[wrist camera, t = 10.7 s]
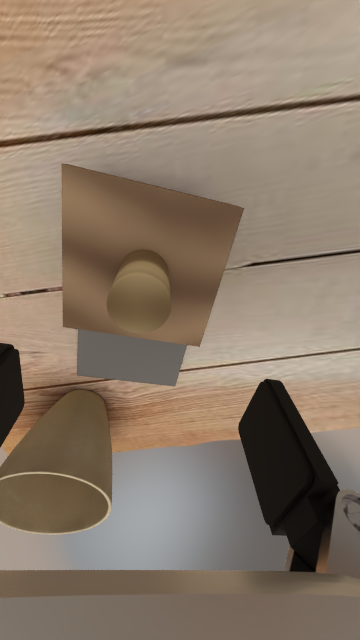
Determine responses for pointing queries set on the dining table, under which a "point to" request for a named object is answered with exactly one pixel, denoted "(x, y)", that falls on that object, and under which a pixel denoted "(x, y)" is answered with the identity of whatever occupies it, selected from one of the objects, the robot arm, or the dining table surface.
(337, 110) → the dining table surface
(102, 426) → the plant pot
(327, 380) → the dining table surface
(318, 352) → the dining table surface
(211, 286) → the lid
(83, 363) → the mat
